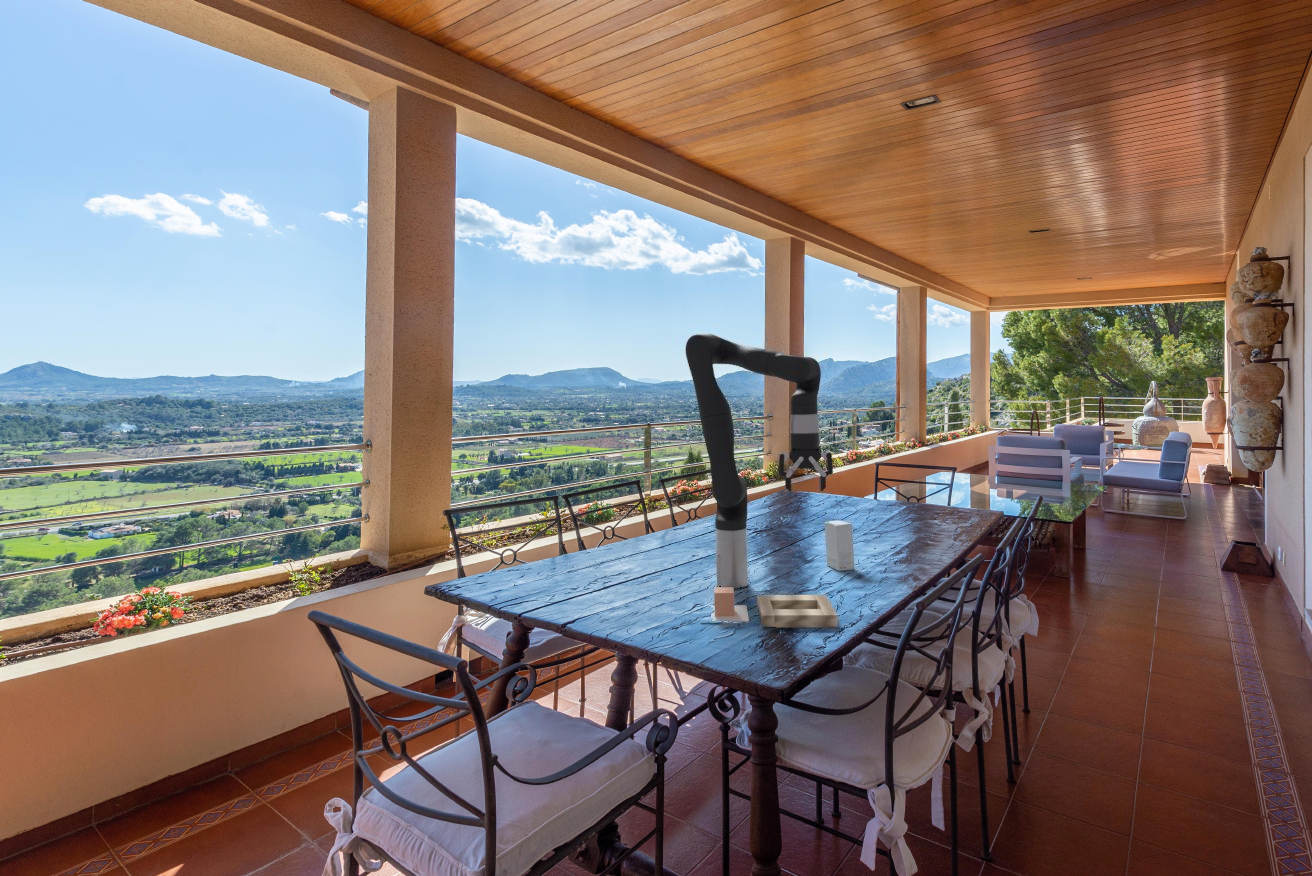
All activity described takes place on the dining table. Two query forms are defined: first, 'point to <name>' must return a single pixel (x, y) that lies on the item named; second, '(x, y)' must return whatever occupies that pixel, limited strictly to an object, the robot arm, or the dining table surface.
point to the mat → (740, 616)
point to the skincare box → (839, 545)
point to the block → (724, 601)
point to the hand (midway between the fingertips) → (805, 490)
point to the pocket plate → (796, 611)
